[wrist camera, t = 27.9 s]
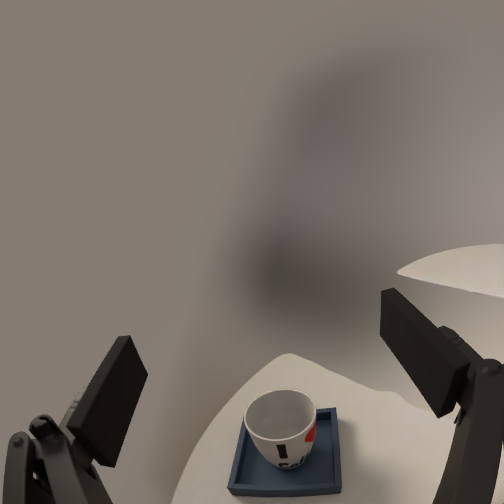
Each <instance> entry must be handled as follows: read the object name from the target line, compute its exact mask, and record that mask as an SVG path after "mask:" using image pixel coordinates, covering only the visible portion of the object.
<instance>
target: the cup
mask: <svg viewBox="0 0 504 504" xmlns="http://www.w3.org/2000/svg"><path fill="white" fill-rule="evenodd" d="M244 423H245V425H246V428H247V430H248V432H249V434H250V436H251V438H252V440H253V442H254V444H255V446H256V447H257V449H258V450H259V451H260V452H261V454H262V455H263V456H264V457H265V459H266V460H267V461H269V462H270V463H272V464H273V465H274V466H276V467H278V468H281V469H293V468H296V467H298V466H300V465H301V464H302V463H303V462H304V461H305V460H306V458H307V456H308V455H309V453H310V451H311V449H312V445H313V441H314V437H315V430H316V406H315V403H314V401H313V400H312V399H311V398H310V397H309V396H308V395H307V394H305V393H303V392H301V391H298V390H294V389H277V390H272V391H269V392H266V393H264V394H261V395H260V396H258V397H257V398H255V399H254V400H253V401H252V402H251V403H250V404H249V405H248V407H247V408H246V410H245V414H244Z"/></svg>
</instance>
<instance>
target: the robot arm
mask: <svg viewBox="0 0 504 504" xmlns="http://www.w3.org/2000/svg"><path fill="white" fill-rule="evenodd" d="M380 336H381V337H382V339H383V340H384V341H385V343H386V344H387V346H388V347H389V348H390V350H391V351H392V352H393V354H394V355H395V356H396V358H397V359H398V361H399V362H400V364H401V365H402V366H403V368H404V369H405V370H406V372H407V373H408V375H409V376H410V378H411V379H412V381H413V382H414V384H415V385H416V386H417V388H418V389H419V391H420V392H421V394H422V395H423V397H424V398H425V400H426V401H427V403H428V404H429V406H430V407H431V409H432V410H433V412H434V413H435V415H436V416H437V418H440V417H443V416H444V415H446V414H448V413H450V412H452V411H453V409H454V407H455V405H456V402H457V403H458V404H459V405H460V406H461V408H460V411H459V413H458V415H457V417H456V419H455V421H454V423H455V424H456V422H457V424H456V428H455V433H454V437H453V441H452V445H451V449H450V453H449V456H448V460H447V463H446V467H445V470H444V473H443V476H442V479H441V482H440V485H439V488H438V490H437V493H436V496H435V498H434V501H433V503H432V504H491V501H492V497H493V493H494V489H495V484H496V480H497V475H498V469H499V464H500V457H501V450H502V442H503V445H504V364H501V363H500V362H499V361H497V360H495V359H483V358H482V357H481V356H480V355H479V354H478V353H477V352H476V351H475V350H474V349H472V347H470V346H469V345H468V344H467V343H466V342H465V341H464V340H463V339H462V338H461V337H459V335H458V334H457V333H456V332H455V331H454V330H452V329H450V328H447V327H445V326H442V327H439V328H437V327H436V326H435V325H434V324H433V323H432V322H431V321H430V320H429V319H427V318H426V317H425V316H424V315H423V314H422V313H421V312H420V311H419V310H418V309H417V308H416V307H415V306H414V305H413V304H411V303H410V302H409V301H408V300H407V299H406V298H405V297H404V296H403V295H402V294H400V293H399V292H398V291H397V290H396V289H395V288H391V289H387V290H383V291H381V320H380ZM147 376H148V373H147V371H146V369H145V367H144V365H143V363H142V361H141V359H140V356H139V354H138V352H137V350H136V348H135V345H134V343H133V341H132V339H131V336H130V335H129V336H119V337H118V338H117V339H116V341H115V342H114V344H113V346H112V347H111V349H110V351H109V352H108V354H107V355H106V357H105V358H104V360H103V362H102V363H101V365H100V367H99V368H98V370H97V371H96V373H95V375H94V376H93V378H92V380H91V382H90V383H89V385H88V387H84V388H83V389H82V390H81V391H80V392H79V393H78V394H77V395H76V397H75V399H74V400H73V402H72V404H71V406H70V408H69V409H68V411H67V412H66V414H65V416H64V418H63V419H62V421H61V423H60V425H59V427H58V425H57V424H56V423H55V422H54V420H53V419H52V418H51V417H50V416H49V415H40V416H38V417H36V418H34V420H33V421H32V422H31V423H30V425H29V431H30V432H31V433H32V434H33V435H34V437H35V438H36V439H31V438H30V437H29V436H28V435H27V433H25V432H17V433H15V434H14V435H13V436H12V437H11V439H10V441H9V445H8V451H7V457H6V465H5V474H4V485H3V504H113V503H112V501H111V499H110V497H109V495H108V493H107V491H106V490H105V488H104V486H103V484H102V481H101V479H100V478H99V475H98V473H97V471H96V469H95V467H94V466H93V465H92V464H91V463H92V460H93V458H94V459H95V460H96V461H97V462H98V463H99V464H100V465H102V466H107V467H113V468H115V465H116V462H117V459H118V456H119V453H120V450H121V447H122V444H123V441H124V439H125V436H126V433H127V430H128V427H129V424H130V422H131V419H132V416H133V413H134V411H135V408H136V405H137V403H138V400H139V397H140V394H141V392H142V389H143V387H144V384H145V382H146V379H147ZM33 472H34V473H35V474H36V479H35V478H34V477H33Z"/></svg>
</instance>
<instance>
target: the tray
mask: <svg viewBox="0 0 504 504" xmlns="http://www.w3.org/2000/svg"><path fill="white" fill-rule="evenodd" d="M244 414H245V413H244ZM341 487H342V481H341V463H340V448H339V435H338V424H337V413H336V407H334V408H326V409H316V430H315V437H314V441H313V445H312V449H311V451H310V453H309V455H308V456H307V458H306V460H305V461H304V462H303V463H302V464H301V465H300V466H298V467H296V468H293V469H281V468H278V467H276V466H274V465H273V464H272V463H270V462H269V461H267V460H266V459H265V457H264V456H263V455H262V454H261V452H260V451H259V450H258V449H257V447H256V446H255V444H254V442H253V440H252V438H251V436H250V434H249V432H248V430H247V428H246V425H245V423H244V417H243V422H242V426H241V431H240V435H239V440H238V444H237V448H236V453H235V457H234V461H233V466H232V470H231V474H230V478H229V482H228V487H227V488H228V490H229V491H230V492H231V494H232V495H241V496H260V497H295V496H314V495H326V494H336V493H341Z"/></svg>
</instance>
